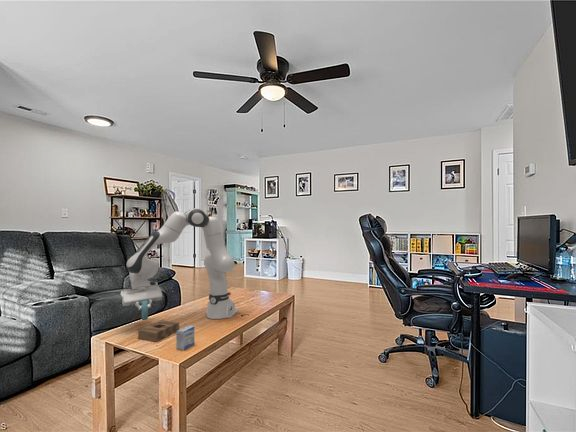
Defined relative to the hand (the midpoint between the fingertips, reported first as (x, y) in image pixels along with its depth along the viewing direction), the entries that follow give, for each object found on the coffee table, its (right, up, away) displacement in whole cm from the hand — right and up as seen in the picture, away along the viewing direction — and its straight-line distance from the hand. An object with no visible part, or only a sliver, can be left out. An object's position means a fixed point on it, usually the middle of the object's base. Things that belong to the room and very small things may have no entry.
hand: (145, 308), depth 158 cm
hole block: (+10, -12, -5) cm, 17 cm away
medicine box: (+29, -12, -20) cm, 37 cm away
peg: (0, -6, 0) cm, 6 cm away
